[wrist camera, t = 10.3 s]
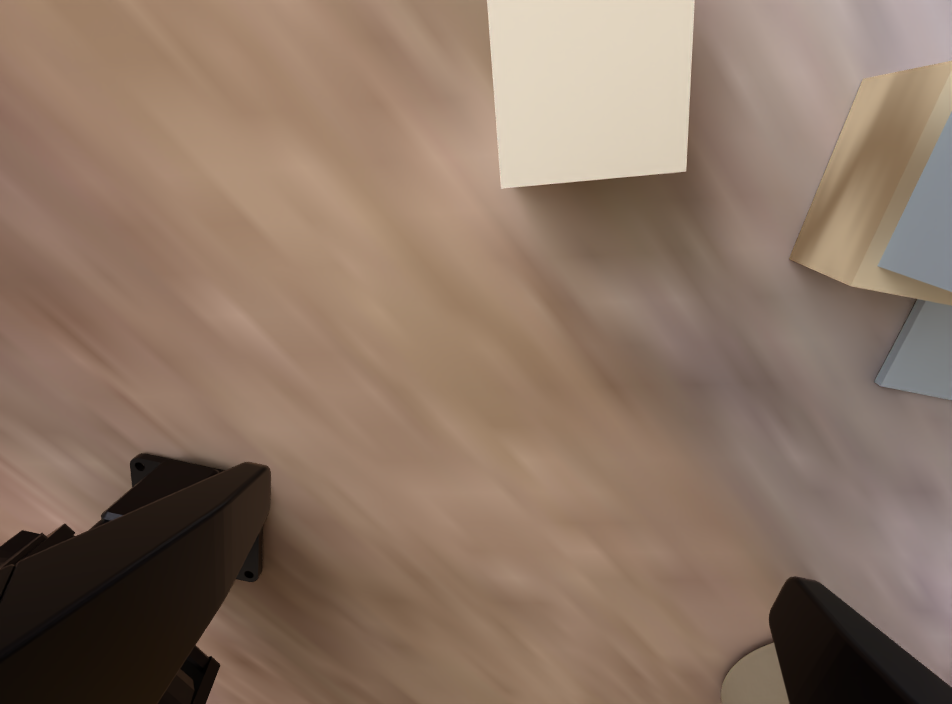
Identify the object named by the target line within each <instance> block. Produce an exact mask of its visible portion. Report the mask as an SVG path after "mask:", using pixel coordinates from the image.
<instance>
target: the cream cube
mask: <svg viewBox="0 0 952 704" xmlns="http://www.w3.org/2000/svg"><path fill="white" fill-rule="evenodd" d="M694 2H695V0H487V5H488V18H489V32H490V45H491V59H492V72H493V86H494V99H495V113H496V127H497V140H498V154H499V167H500V181H501V189H502V188H513V187H524V186H535V185H545V184H556V183H567V182H578V181H589V180H600V179H611V178H621V177H632V176H643V175H654V174H665V173H676V172H686V165H687V144H688V124H689V104H690V83H691V63H692V42H693V22H694Z"/></svg>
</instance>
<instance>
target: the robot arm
mask: <svg viewBox="0 0 952 704" xmlns="http://www.w3.org/2000/svg"><path fill="white" fill-rule="evenodd" d="M130 469H131V479H132V488H131V489H130V490H129V491H128V492H127V493H125V494H124V495H123V496H122V497H121V498H120V499H118V500H117V501H116V502H115V503H114V504H113V505H111V506H110V507H109V508H108V509H107V510H105V511H104V512H103V513H102V515H101V520H100V521H99V522H98V523H96V524H95V525H94V526H93V527H92V528H91V529H90V530H88V531H86V532H84V533H82V534H80V535H77V536H74V534H75V532H74V531H73V530H72V529H71V528H70V527H68V526H67V525H66V524H63V525H62V526H60V527H59V528H58V529H56V530H55V531H53V532H52V533H50V534H49V535H47V536H45V535H44V534H43V533H41V534H37V533H33V532H28V531H23V530H22V531H21V532H19V533H18V534H16V535H15V536H14V537H12V538H11V539H10V540H8V541H7V542H6V543H4V544H3V545H2V546H0V704H206V701H207V699H208V696H209V693H210V691H211V688H212V686H213V683H214V680H215V678H216V675H217V673H218V670H219V667H220V664H219V663H218V662H217V661H216V660H215V659H214V658H213V657H212V656H210V657H208V656H207V655H205V654H204V653H203V652H202V651H201V650H200V649H199V648H198V647H197V646H196V643H197V642H198V640H199V639H200V637H201V636H202V634H203V632H204V631H205V629H206V628H207V626H208V625H209V623H210V622H211V620H212V619H213V617H214V616H215V614H216V612H217V611H218V609H219V608H220V606H221V604H222V603H223V601H224V599H225V598H226V596H227V594H228V592H229V590H230V588H231V587H232V585H233V583H234V581H235V579H239V580H243V581H248V582H254V581H256V580H257V579H258V578H259V576H260V574H261V572H262V536H263V524H264V522H265V520H266V518H267V515H268V512H269V509H270V495H271V471H270V468H269V467H268V466H266V465H261V464H257V463H252V462H244V463H241V464H239V465H237V466H235V467H232V468H230V469H228V470H220V469H216V468H211V467H206V466H201V465H197V464H192V463H187V462H182V461H178V460H173V459H168V458H163V457H159V456H154V455H149V454H142V453H141V454H138V455H137V456H136V457H134V458H133V459H132V460H131V461H130ZM769 625H770V630H771V634H772V638H773V642H774V645H775V649H776V653H777V657H778V661H779V665H780V669H781V673H782V677H783V681H784V685H785V689H786V693H787V697H788V701H789V704H952V687H950V686H949V685H948V684H947V683H945V682H944V681H943V680H942V679H940V678H939V677H938V676H937V675H935V674H934V673H933V672H932V671H930V670H929V669H928V668H927V667H925V666H924V665H923V664H922V663H920V662H919V661H918V660H916V659H915V658H914V657H913V656H911V655H910V654H909V653H908V652H906V651H905V650H904V649H903V648H901V647H900V646H899V645H898V644H896V643H895V642H894V641H893V640H891V639H890V638H889V637H888V636H886V635H885V634H884V633H883V632H881V631H880V630H879V629H877V628H876V627H875V626H874V625H872V624H871V623H870V622H869V621H867V620H866V619H865V618H864V617H862V616H861V615H860V614H859V613H857V612H856V611H855V610H854V609H852V608H851V607H850V606H849V605H847V604H846V603H845V602H844V601H842V600H841V599H840V598H838V597H837V596H836V595H835V594H833V593H832V592H831V591H830V590H828V589H827V588H826V587H825V586H823V585H822V584H821V583H819V582H817V581H815V580H810V579H806V578H801V577H796V576H794V577H790V578H789V579H787V580H786V582H785V584H784V585H783V587H782V589H781V591H780V593H779V595H778V597H777V598H776V600H775V602H774V604H773V606H772V608H771V610H770V614H769Z"/></svg>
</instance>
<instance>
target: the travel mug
mask: <svg viewBox="0 0 952 704" xmlns="http://www.w3.org/2000/svg"><path fill="white" fill-rule="evenodd" d="M721 702H722V704H789V701H788V697H787V693H786V689H785V685H784V681H783V677H782V673H781V669H780V665H779V661H778V657H777V653H776V649H775V645H774V643H771V644H769V645H766V646H763V647H761V648H759V649H757V650H755V651H753V652H751V653H749V654H748V655H746V656H745V657H743V658H742V659H741V660H740V661H738V662H737V663H736V664H735V665H734V666H733V667H732V669H731V670H730V671H729V672H728V674H727V675H726V677H725V679H724V682H723V684H722V689H721Z"/></svg>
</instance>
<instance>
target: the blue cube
mask: <svg viewBox="0 0 952 704" xmlns="http://www.w3.org/2000/svg"><path fill="white" fill-rule="evenodd" d="M878 267H881V268H884V269H887V270H890V271H893V272H896V273H899V274H901V275H904V276H907V277H910V278H913V279H916V280H919V281H922V282H925V283H927V284H930V285H933V286H936V287H939V288H942V289H945V290H948V291H950V292H952V112H951V114H950V116H949V118H948V120H947V122H946V124H945V126H944V128H943V130H942V132H941V135H940V137H939V139H938V141H937V143H936V145H935V147H934V149H933V151H932V153H931V155H930V157H929V160H928V162H927V164H926V166H925V168H924V170H923V172H922V174H921V176H920V178H919V180H918V182H917V185H916V187H915V189H914V191H913V193H912V195H911V197H910V199H909V201H908V203H907V205H906V208H905V210H904V212H903V214H902V216H901V218H900V220H899V222H898V224H897V226H896V228H895V230H894V233H893V235H892V237H891V239H890V241H889V243H888V245H887V247H886V249H885V251H884V253H883V255H882V258H881V260H880V262H879V264H878Z"/></svg>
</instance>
